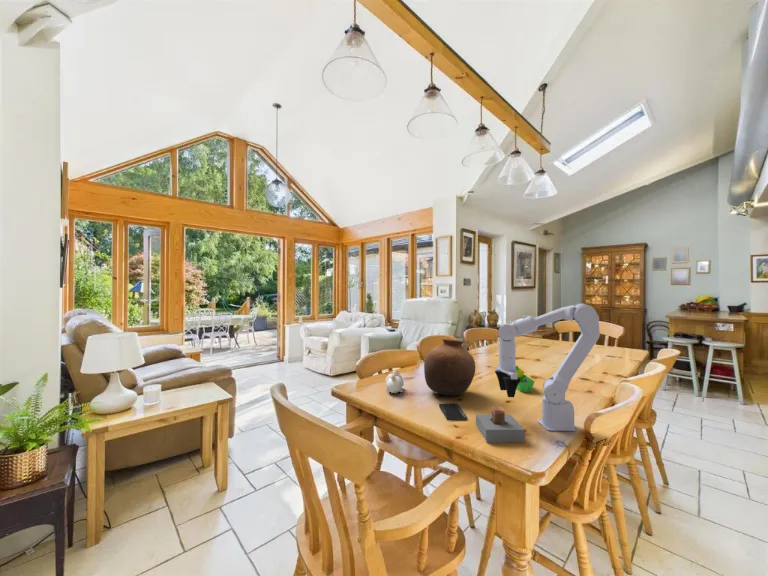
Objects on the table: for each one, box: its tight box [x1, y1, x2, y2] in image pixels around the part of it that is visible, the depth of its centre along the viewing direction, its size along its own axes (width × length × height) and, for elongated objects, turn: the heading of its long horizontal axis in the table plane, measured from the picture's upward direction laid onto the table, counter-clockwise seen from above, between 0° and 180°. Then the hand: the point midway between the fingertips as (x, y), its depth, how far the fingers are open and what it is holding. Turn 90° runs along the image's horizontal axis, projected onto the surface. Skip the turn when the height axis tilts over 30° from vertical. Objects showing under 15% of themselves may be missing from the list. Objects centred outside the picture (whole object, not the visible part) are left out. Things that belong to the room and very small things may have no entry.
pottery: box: [423, 338, 476, 397], centre depth 148 cm, size 23×23×25 cm
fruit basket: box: [515, 364, 536, 393], centre depth 154 cm, size 11×9×11 cm
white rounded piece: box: [384, 370, 405, 394], centre depth 152 cm, size 10×8×15 cm
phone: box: [438, 402, 468, 421], centre depth 126 cm, size 8×1×15 cm
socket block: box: [475, 413, 526, 443], centre depth 108 cm, size 12×12×4 cm
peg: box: [491, 406, 506, 425], centre depth 108 cm, size 3×3×8 cm
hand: (507, 393), depth 120 cm, fingers open, 7 cm apart
